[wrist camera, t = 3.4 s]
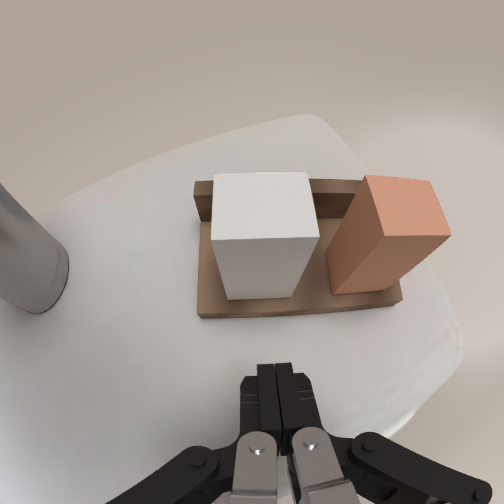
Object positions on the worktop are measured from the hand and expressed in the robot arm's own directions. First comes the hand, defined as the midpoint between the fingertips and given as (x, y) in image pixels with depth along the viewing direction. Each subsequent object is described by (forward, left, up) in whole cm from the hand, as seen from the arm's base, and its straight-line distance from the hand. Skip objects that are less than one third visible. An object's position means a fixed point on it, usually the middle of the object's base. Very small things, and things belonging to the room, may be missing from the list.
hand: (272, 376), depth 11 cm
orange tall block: (+8, +8, -8) cm, 14 cm away
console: (+4, +10, -11) cm, 15 cm away
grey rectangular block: (0, +8, -8) cm, 12 cm away
